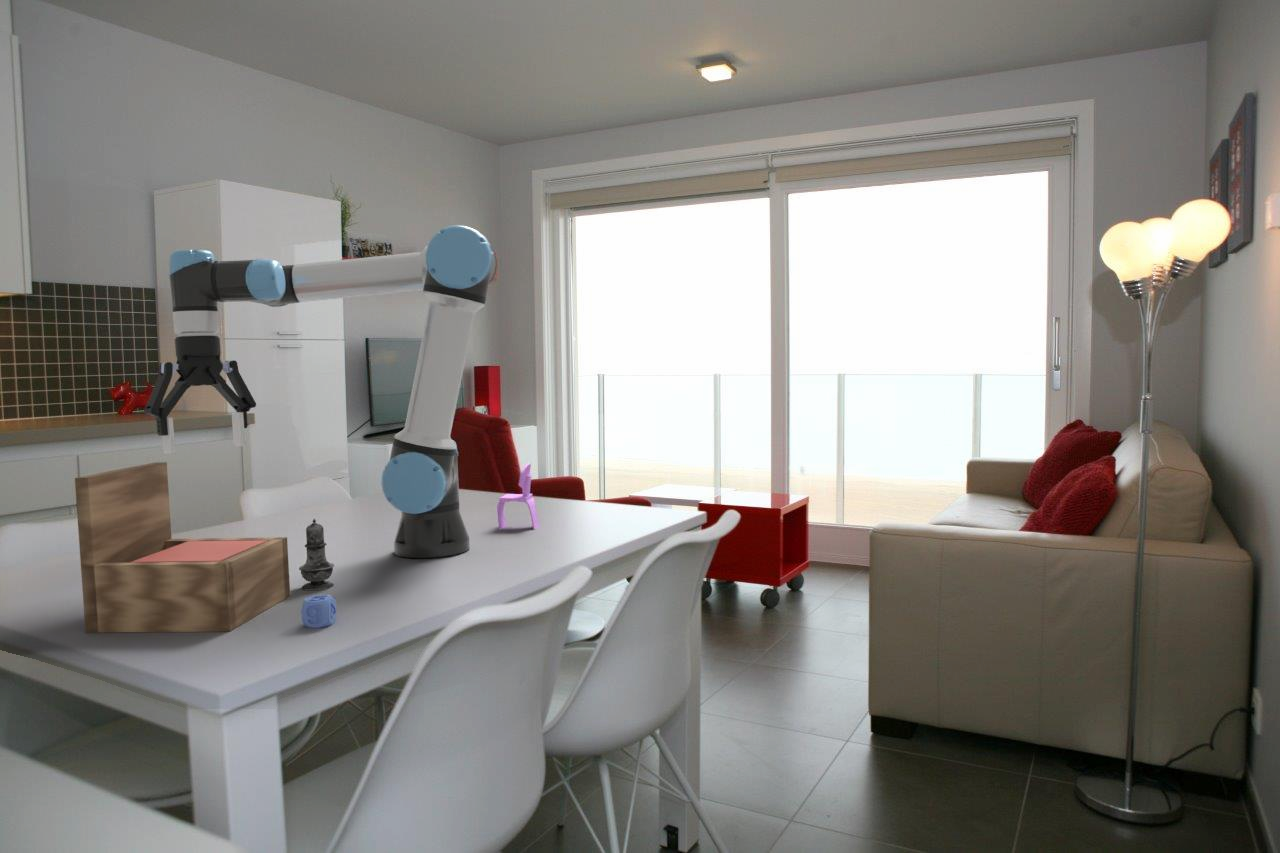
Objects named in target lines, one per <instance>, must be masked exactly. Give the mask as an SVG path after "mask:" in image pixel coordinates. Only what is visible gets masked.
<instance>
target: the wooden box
mask: <svg viewBox="0 0 1280 853" xmlns="http://www.w3.org/2000/svg"><path fill="white" fill-rule="evenodd" d="M168 476H169V474H168V462H167V461H166V462H164V461H163V462H151V463H146V464H141V465H140V464H139V465H135V466H130V467H124V468H119V469H115V470H114V469H113V470H109V471H104V472H99V473H93V474H89V475H84V476H77V477H74V486H75V488H74V489H75V499H76V500H75V501H76V502H75V503H76V516H77V527H78V528H77V530H78V543H79V556H80V558H79V560H80V572H81V585H82V586H81V588H82V599H83V603H82V604H83V614H84V629H85V630H84V631H85V633H173V632H174V633H175V632H177V633H180V632H181V633H183V632H184V633H186V632H187V633H189V632H190V633H191V632H193V633H194V632H197V633H198V632H204V633H206V632H210V633H212V632H219V633H220V632H232V631H234V630H235V629H237V628H239V627H240V626H241V625H244V624H245V623H247V622H249V621H250V620H253V619H254V618H255V617H257V616H259V615H260V614H262V613H264V612H266V611H267V610H269V609H270V608H271V609H272V607H275V606H276V605H278V604H280V603H281V602H283V601H285V600H286V599H288V598H289V597H291V584H290V583H291V582H290V568H289V567H290V566H289V549H288V545H289V544H288V536H287V537H282V536H281V537H280V536H279V537H225V538H224V537H221V538H220V537H215V538H211V537H209V538H208V537H207V538H206V537H205V538H204V537H203V538H172V524H171V508H170V507H171V506H170V495H169V494H170V492H169V477H168ZM247 540H268V541H267V542H265V543H263V544H260V545H258V546H255V547H253V548H251V549H248V550H246V551H244V552H241V553H239V554H237V555H234V556H232V557H230V558H227V559H225V560H223V561H216V562H133V563H131V562H132V561H135V560H138V559H140V558H143V557H146V556H149V555H151V554H154V553H157V552H160V551H163V550H165V549H168V548H171V547H174V546H176V545H179V544H182V543H185V542H188V541H247Z"/></svg>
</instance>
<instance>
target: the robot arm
mask: <svg viewBox="0 0 1280 853" xmlns="http://www.w3.org/2000/svg"><path fill="white" fill-rule="evenodd" d="M497 269H498V260H497V256H496V253H495V251H494V249H493V247H492V246H491V244H490V242H489V240H488V239H487V237H486V236H484V234H483V233H482V232H480V231H479V230H477V229H475V228H472V227H469V226H466V225H458V224H457V225H456V224H455V225H454V224H453V225H449V226H447V227H444V228H442V229H440V230H439V231H437V232H436V233H435V234H434V235H433V236H432V237H431V239H430V240H429V242H428V244H427V245H426V246H425V247H424V248H423V249H422V250H421V251H419V252H418V251H416V252H408V253H399V254H389V255H379V256H378V255H377V256H368V257H358V258H349V259H339V260H338V259H337V260H329V261H319V262H308V263H298V264H291V265H290V264H288V265H281V263H280V262H279V261H277V260H275V259H262V258H256V259H245V260H215V256H214V254H213V252H212V251H209V250H205V249H178V250H173V251H172V252H171V253H170V255H169V274H168V278H169V282H170V285H169V286H170V294H171V304H172V305H171V306H172V317H173V318H172V319H173V332H174V334H175V335H177V336H176V337H175V338H174V346H175V347H174V348H175V357H176V363H172V362H170V361H166V362H165V361H164V362H159V365H158V376H157V377H156V378H157V379H156V380H155V383H154V385H153V388H152V389H151V393H150V396H149V398H148V400H147V403H146V405H145V407H144V411H143V412H144V414H145V415H148V416H151V417H153V418H155V421H156V433H157V435H158V436H161V438H162V450H163V451H162V452H163V454H164V455H165V454H166V455H167V454H168V455H173V454H175V455H176V443H175V441H176V440H175V431H174V429H175V428H174V418H173V417H171V416H170V417H168V416H169V415H170V413H171V412H172V411H173V410H174V409H175V406H176V405H177V404H178V403H179V401H180V400H181V399H182V397H183V395H184V394H185V393H186V392H187V390H188V389H190V388H191V387H198V386H199V387H200V386H212V387H213V388H214V389H215V390H217V392H218V393H219V394H220V395H221V396H222V397H223V398H224V399H225V401H226V402H228V404H229V405H230V406H231V407H232V408H233V409H234V410H235V412H234V411H233V412H231V423H232V425H231V426H232V438H233V439H232V440H233V447H246V435H245V434H246V433H245V429H247V428H248V412H250V410H251V409H252V408H256V407H257V403H256V401H255V399H254V397H253V395H252V393H251V391H250V390H249V388H248V386H247V385H246V383H245V380H244V378H243V377H242V375H241V374H240V372H239V366H238V362H237V361H236V360H234V359H233V360H225V361H223V362H222V360H221V354H222V352H221V338H220V337H219V336H218V335H217V334H219V333H220V323H219V322H220V321H219V313H218V312H219V309H218V303H226V302H227V303H228V302H229V303H230V302H231V303H233V302H239V303H240V302H251V303H256V304H261V305H262V304H263V305H266V306H268V307H272V308H273V307H274V308H275V307H276V308H278V307H279V308H280V307H284V306H287V305H291V304H299V303H308V302H315V301H316V302H317V301H318V302H319V301H328V300H336V299H347V298H358V297H359V298H360V297H367V296H369V297H370V296H377V295H388V294H397V293H407V292H417V291H419V292H420V291H422V294H423V295H424V297H425V299H426V300H427V303H428V307H427V312H426V317H425V322H424V326H423V333H422V337H421V343H420V348H419V352H418V358H417V363H416V368H415V373H414V378H413V382H412V388H411V394H410V399H409V402H408V408H407V413H406V419H405V423H404V427H403V429H402V430H401V431H399V432H397V433H396V434H394V436H393V441H392V446H391V450H390V456H389V461H388V462H387V464H386V465H385V466H384V469H383V471H382V475H381V490H382V492H383V495H384V497H385V499H386V500H387V501H388V503H389V505H391V506H392V507H394V508H395V509H397V510H398V511H400V512H401V517H400V521H399V524H398V528H397V531H396V535H395V539H394V542H393V547H394V548H393V551H394V555H396V556H398V557H403V558H407V559H409V558H410V559H414V558H415V559H428V558H430V559H431V558H441V557H448V556H454V555H458V554H462V553H464V552H467V551H469V549H470V536H469V533H468V531H467V529H466V526H465V523H464V520H463V517H462V514H461V510H460V489H459V488H460V487H459V486H460V485H459V467H458V466H459V465H458V457H459V451H458V446H457V443H456V441H455V440H453V439H452V437H451V434H452V428H453V424H454V423H453V422H454V419H455V415H456V408H457V404H458V398H459V393H460V389H461V383H462V380H463V379H462V378H463V375H464V374H463V373H464V370H465V363H466V358H467V353H468V350H469V343H470V339H471V334H472V329H473V323H474V318H475V314H477V312H478V311H480V310H481V309H482V308H484V307H485V306H486V300H487V295H488V290H489V286H490V285H491V283H492V282H493V280H494V279H495V276H496V274H497ZM222 371H223V373H226V376H227V379H228V380H229V383H231V385H232V388H233V389H234V390H235V391H234V390H233V389H232V388H231V387H230V386H229V384H227V380H225V379H224V377H223V376H222V375H221V373H222ZM176 372H177V374H178V376H179V377H178V378H177V380H175V383H174V385H173V387H172V389H171V390H170V391H169V393H168V394H167V395H166V393H167V391H168V388H169V386H170V383H171V380H172V378H173V375H175V373H176ZM165 395H166V396H165ZM164 397H165V398H164Z"/></svg>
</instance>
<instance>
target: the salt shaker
mask: <svg viewBox="0 0 1280 853" xmlns="http://www.w3.org/2000/svg"><path fill="white" fill-rule="evenodd" d="M324 531H325V530H324V526H322V524H319V523H317V519H315V518H313V520H312V523H311V524H308V526H306V529H305V534H306V535H305V537H306V544H304V548H306V561H305V563H304V564H303V565H300V566H299V567H298V569H299V571H300V574H301V576H302V578H303V579H304V580H305V581H306V582H307V583H304V585H302V586H301V590H305V591H319V590H327V589H330V588H333V587H334V585H335V584H334V583H333V582H331V581H328V579H329V578H330V577H331V575H332V573H333V570H334V567H335V563H332V562H329V561H328V560H327V557H326V545H327V543H326V542H325V534H324V533H325V532H324Z"/></svg>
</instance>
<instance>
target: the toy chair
mask: <svg viewBox="0 0 1280 853" xmlns="http://www.w3.org/2000/svg"><path fill="white" fill-rule="evenodd" d="M531 466H532V463H530V462H527V463H526V464H525V465H524V466H523V467H522V469H521V471H520V473H519V474H520V475H519V481H518V486H519V487H520V488H521V489H522V493H520V494H519V493H517V494H516V493H505V494H504V495H503V496H500V497H499V498H498V503H497V507H496V509H497V510H496V512H497V522H498V530H500V531H501V530H503V529H504V528H505V527H507V526H508V523H507V520H506V517H505V511H504V510H505V504H506V503H510V502H521V503H525V504H527V507H528V510H529V513H530V518H531V522H532V523H531V524H532V529H533V530H536V529H537V528H538V527H539V526H541V522H540V520H539V518H538V514H537V510H536V501H535V499H534V497H533V493H531V482H532V474H531Z"/></svg>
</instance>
